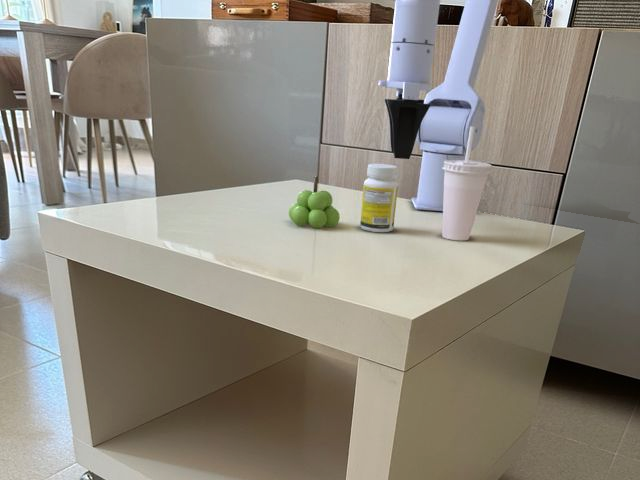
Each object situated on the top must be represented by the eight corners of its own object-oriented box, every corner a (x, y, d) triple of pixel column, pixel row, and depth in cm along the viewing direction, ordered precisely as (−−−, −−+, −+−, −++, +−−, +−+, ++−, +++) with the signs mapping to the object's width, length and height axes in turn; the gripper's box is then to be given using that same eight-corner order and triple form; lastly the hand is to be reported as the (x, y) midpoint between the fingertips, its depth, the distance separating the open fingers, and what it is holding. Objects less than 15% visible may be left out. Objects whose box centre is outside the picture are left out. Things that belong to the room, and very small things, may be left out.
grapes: (285, 218, 91) (287, 171, 88) (330, 219, 93) (334, 173, 90) (294, 229, 85) (296, 179, 82) (342, 230, 86) (346, 181, 83)
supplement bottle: (373, 224, 92) (379, 162, 88) (399, 230, 89) (407, 167, 85) (352, 228, 88) (358, 164, 84) (379, 234, 86) (386, 168, 82)
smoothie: (426, 237, 86) (442, 124, 79) (440, 230, 91) (457, 123, 84) (471, 245, 84) (492, 129, 77) (483, 237, 89) (504, 128, 82)
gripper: (380, 44, 89) (371, 148, 96) (384, 39, 77) (373, 159, 83) (430, 48, 89) (417, 151, 96) (442, 43, 76) (426, 162, 83)
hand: (400, 155), depth 89 cm, fingers open, 7 cm apart
